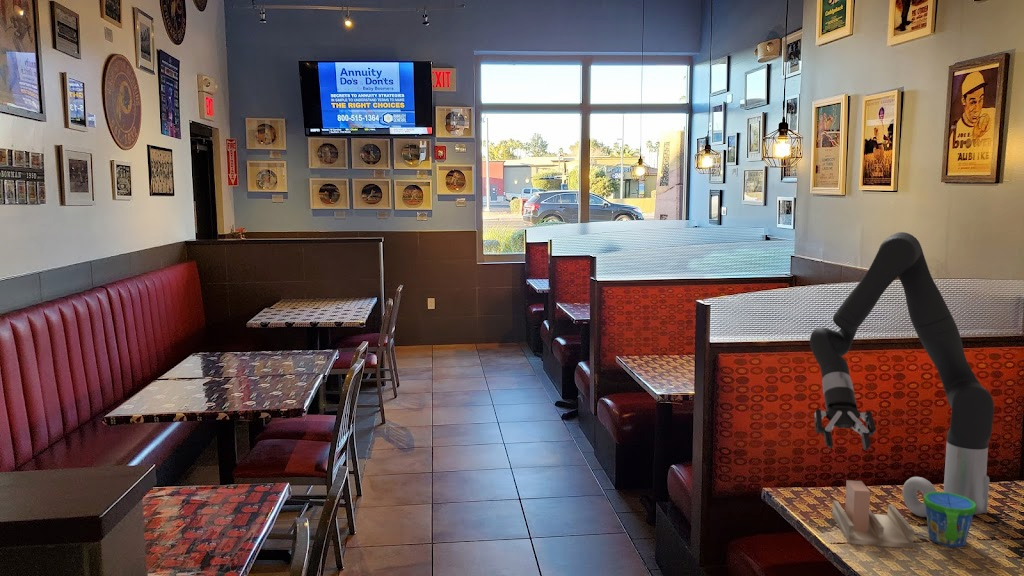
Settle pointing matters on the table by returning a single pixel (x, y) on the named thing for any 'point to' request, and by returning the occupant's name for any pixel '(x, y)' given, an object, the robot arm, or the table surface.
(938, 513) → the snack cup
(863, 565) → the table surface
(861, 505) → the pink rectangular block
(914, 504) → the grey ring
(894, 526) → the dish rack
